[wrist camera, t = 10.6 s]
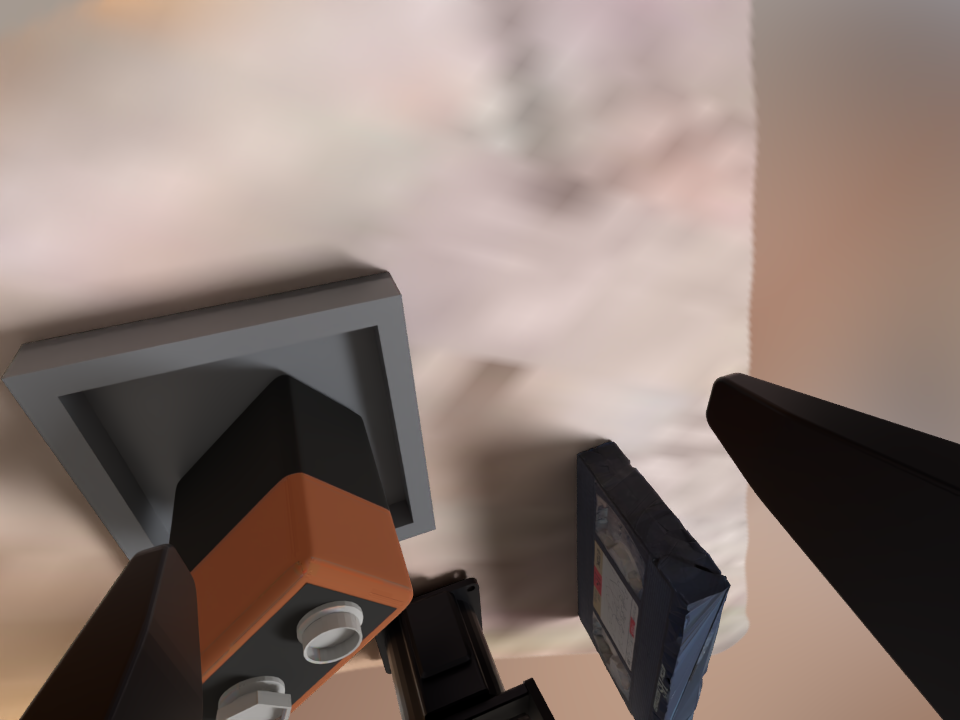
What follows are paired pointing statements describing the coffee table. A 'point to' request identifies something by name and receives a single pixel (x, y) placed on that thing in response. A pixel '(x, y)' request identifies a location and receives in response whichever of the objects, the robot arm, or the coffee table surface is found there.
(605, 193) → the coffee table surface
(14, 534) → the coffee table surface
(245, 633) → the battery
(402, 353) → the tray
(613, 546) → the vhs cassette tape
